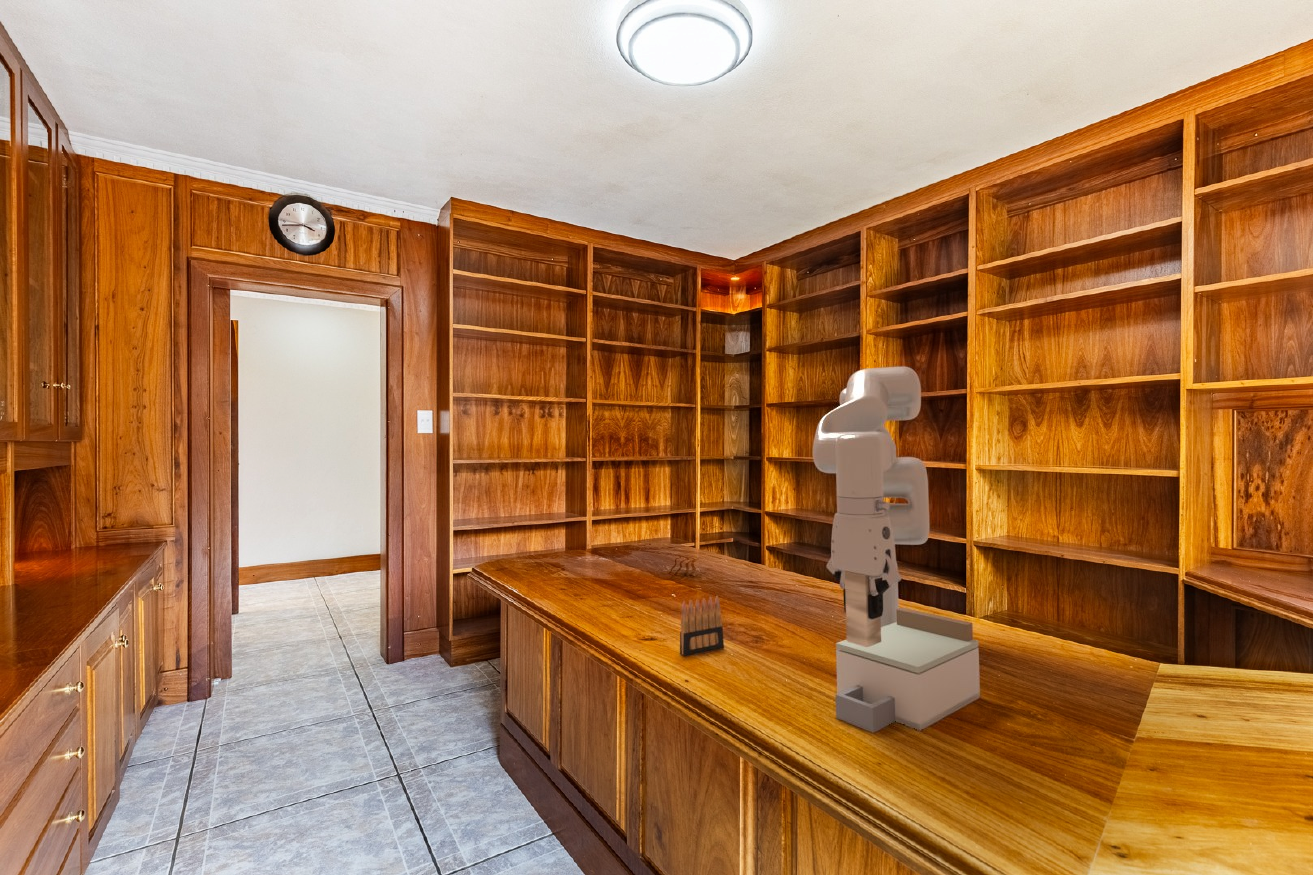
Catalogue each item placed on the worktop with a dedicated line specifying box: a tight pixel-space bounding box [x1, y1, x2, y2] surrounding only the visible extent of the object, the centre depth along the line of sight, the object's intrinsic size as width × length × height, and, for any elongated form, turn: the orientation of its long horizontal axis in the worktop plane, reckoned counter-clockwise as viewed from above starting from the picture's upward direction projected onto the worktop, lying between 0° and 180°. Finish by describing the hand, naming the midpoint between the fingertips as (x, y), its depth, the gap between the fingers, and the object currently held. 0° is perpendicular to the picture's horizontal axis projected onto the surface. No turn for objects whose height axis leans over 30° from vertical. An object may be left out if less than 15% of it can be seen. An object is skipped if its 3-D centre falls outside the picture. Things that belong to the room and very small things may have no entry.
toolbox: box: [834, 646, 981, 734], centre depth 112 cm, size 26×16×9 cm, turn 127°
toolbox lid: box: [835, 607, 979, 673], centre depth 114 cm, size 20×16×4 cm
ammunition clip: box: [679, 595, 725, 657], centre depth 142 cm, size 11×2×12 cm, turn 118°
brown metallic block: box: [845, 571, 881, 647], centre depth 107 cm, size 4×4×12 cm
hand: (863, 613), depth 107 cm, fingers closed on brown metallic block, 4 cm apart
